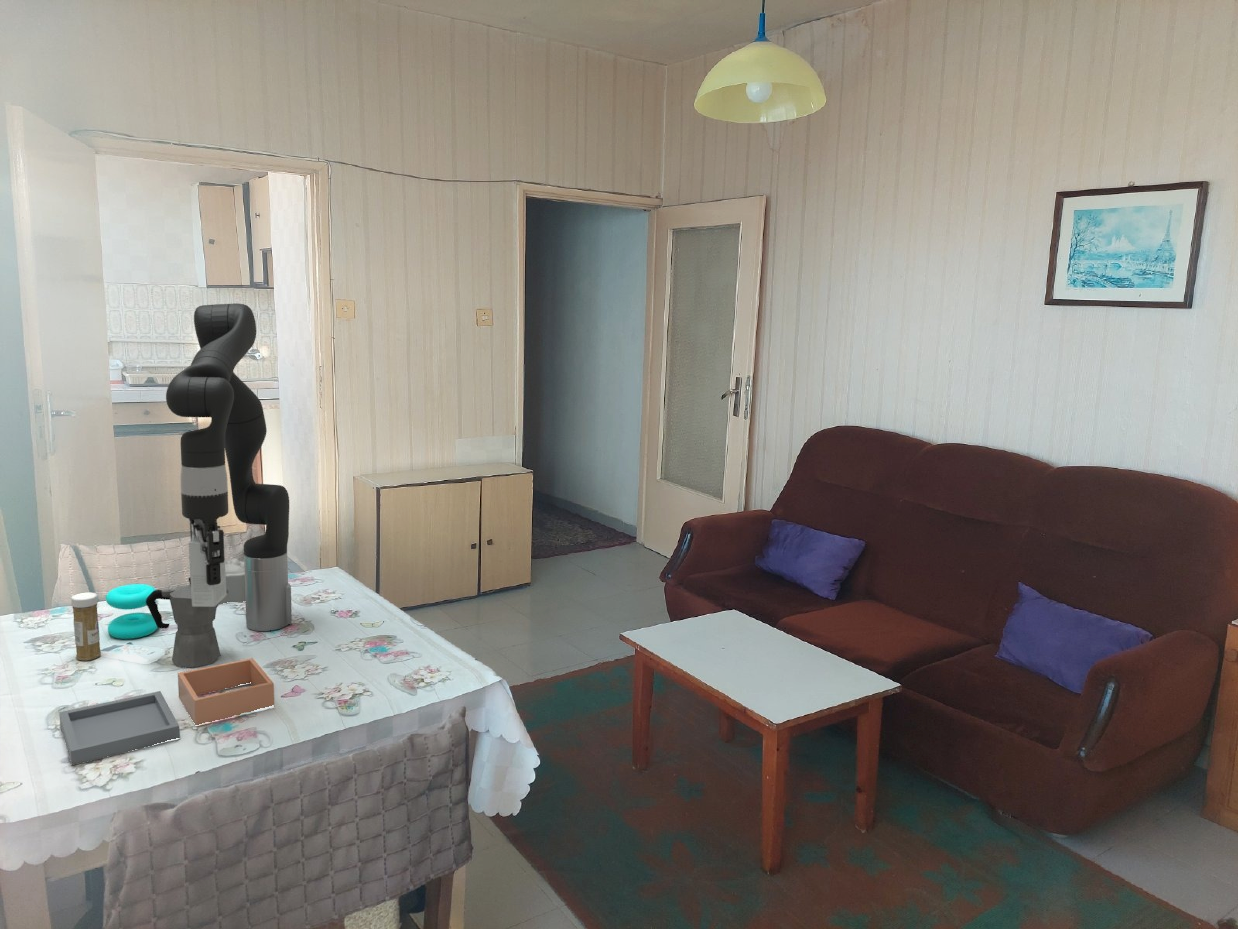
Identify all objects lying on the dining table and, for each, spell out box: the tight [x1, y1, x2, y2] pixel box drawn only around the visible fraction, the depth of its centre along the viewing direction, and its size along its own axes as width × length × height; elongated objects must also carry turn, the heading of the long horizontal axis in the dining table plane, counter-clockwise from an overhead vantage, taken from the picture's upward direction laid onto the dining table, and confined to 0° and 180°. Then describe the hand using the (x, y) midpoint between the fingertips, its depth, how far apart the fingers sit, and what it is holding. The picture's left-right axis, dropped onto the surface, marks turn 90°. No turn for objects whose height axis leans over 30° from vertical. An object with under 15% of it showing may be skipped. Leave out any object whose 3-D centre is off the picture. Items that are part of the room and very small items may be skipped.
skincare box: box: [188, 538, 227, 607], centre depth 159 cm, size 6×4×12 cm
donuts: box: [105, 583, 159, 640], centre depth 196 cm, size 10×10×10 cm
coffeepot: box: [146, 577, 229, 669], centre depth 182 cm, size 15×9×18 cm, turn 110°
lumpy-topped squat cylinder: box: [219, 557, 245, 605], centre depth 222 cm, size 10×13×9 cm
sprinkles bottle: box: [71, 592, 102, 662], centre depth 181 cm, size 5×5×14 cm
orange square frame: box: [177, 657, 275, 726], centre depth 165 cm, size 14×14×5 cm
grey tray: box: [58, 690, 181, 766], centre depth 153 cm, size 16×16×2 cm
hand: (208, 578), depth 159 cm, fingers closed on skincare box, 7 cm apart
